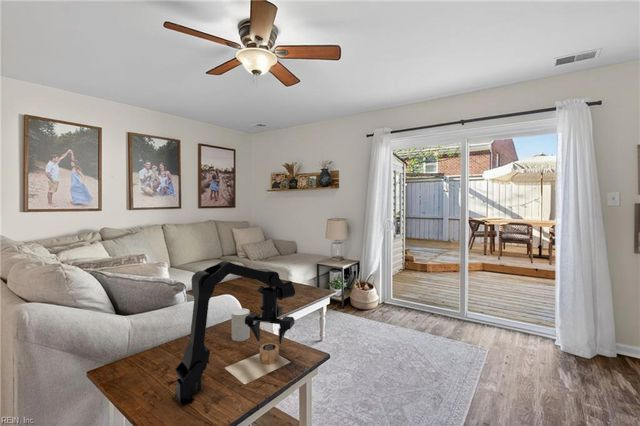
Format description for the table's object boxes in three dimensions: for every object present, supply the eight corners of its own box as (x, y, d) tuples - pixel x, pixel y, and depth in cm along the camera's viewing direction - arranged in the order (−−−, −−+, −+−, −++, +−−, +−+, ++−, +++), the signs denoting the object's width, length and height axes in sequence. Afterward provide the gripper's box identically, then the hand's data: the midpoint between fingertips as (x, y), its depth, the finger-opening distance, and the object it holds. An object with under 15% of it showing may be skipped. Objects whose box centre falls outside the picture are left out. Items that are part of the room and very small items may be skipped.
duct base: (244, 388, 100) (244, 369, 99) (224, 371, 109) (224, 354, 109) (290, 365, 114) (290, 349, 114) (269, 352, 124) (269, 337, 123)
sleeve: (273, 365, 111) (273, 352, 111) (257, 363, 113) (257, 350, 113) (280, 356, 118) (280, 344, 117) (265, 354, 119) (265, 342, 119)
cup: (227, 338, 136) (227, 312, 136) (240, 332, 143) (240, 307, 143) (241, 342, 132) (241, 316, 132) (253, 335, 139) (253, 310, 139)
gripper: (299, 298, 120) (299, 336, 120) (257, 294, 125) (257, 330, 125) (289, 307, 109) (289, 349, 110) (243, 303, 114) (243, 343, 114)
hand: (269, 342), depth 115 cm, fingers open, 9 cm apart
